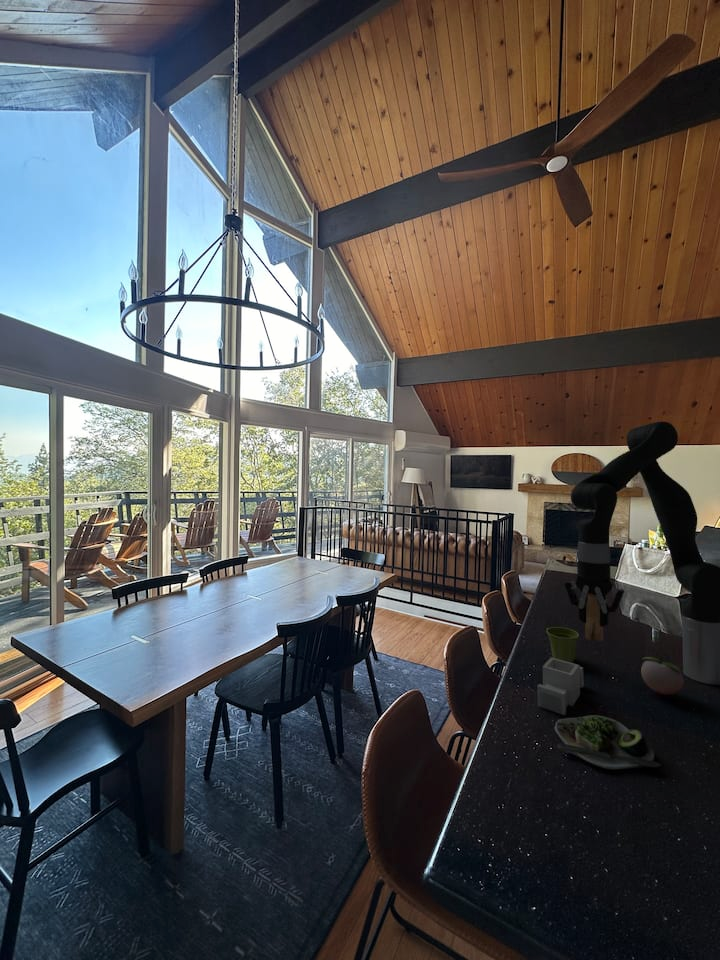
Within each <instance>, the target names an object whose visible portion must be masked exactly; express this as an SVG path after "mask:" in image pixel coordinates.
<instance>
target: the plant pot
mask: <svg viewBox="0 0 720 960" xmlns="http://www.w3.org/2000/svg"><path fill="white" fill-rule="evenodd" d="M545 632H546V634H547V635H548V638H549V643H550V649H551V656H552V658H555V659H559V660H563V661H566V662H570V663H573V662H574V661H575V655H576V653H575V652H576V646H577V645H576V644H577V641H578V638H579V637H580V634H579V633H578V632H577V631H576V630H574V629H571V628H569V627H568V628H567V627H563V626H562V627H561V626H560V627H559V626H554V627H553V626H552V627H547V628H546V631H545Z"/></svg>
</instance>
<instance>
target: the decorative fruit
mask: <svg viewBox="0 0 720 960" xmlns="http://www.w3.org/2000/svg"><path fill="white" fill-rule="evenodd" d="M641 659H642V660H645V661H644V662H643V663H642V664H641V665H642V666H641V668H640V669H641V670H640V672H641V673H640V674H641V678H642V680H643V681H644V683H645V684H646V686H647V687H648V688H650V689H651V690H653V691H655V692H656V693H658V694H660V695H661V696H663V695H667V696H669V695H674V694H677V693H678V692H680V690H682V688H683V686H684V684H685V683H684V682H685V680H684V676H683V674H684V673H683V670H681V669H680V668H679V667H678V666H676V664H674V663H671V662H668V661H667V662H666V661H663V657H662V656H661V657H660V659H658V658H656V657H652V656H645V657H643V658H641Z"/></svg>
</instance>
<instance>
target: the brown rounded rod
mask: <svg viewBox="0 0 720 960" xmlns="http://www.w3.org/2000/svg"><path fill="white" fill-rule="evenodd" d="M601 613H602V609H601V606H600V604H599V601H598V598H597V594H591V593H587V597H586V601H585V623H584V625H585V626H584V633H585V634H584V637H585V639H587V640H588V641H590V642H591V641H593V642H603V639H604V627H601Z"/></svg>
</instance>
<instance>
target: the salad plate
mask: <svg viewBox="0 0 720 960" xmlns="http://www.w3.org/2000/svg"><path fill="white" fill-rule="evenodd" d="M553 729H554V732H555V733H556V734H557V736H558V738H559V739H560V740H561V741H562V742H559V743H557V748H558V750H560V751H563V752H567V753H570V754H572V755H574V756H575V757H577V758H580V759H582V760H584V761H585V762H587V763H589V764H591V765H593V766H596V767H599V768H601V769H605V770H614V771H616V770H625V769H626V770H627V769H641V768H643V769H644V768H660V767H661V766H662V764H661V763H659V762H657V761H656V760H655V757H656V756H655V752H654V750H653V749H652V747H650V745H648V744H647V742H646V741H647V740H646V738H645V736H644V734H643V733H642V732H641V731H640V730H638V729H632V728H631V729H628V727H626V726H625V725H623V724H622V723H621V722H619V721H618V720H615V719H613V718H610V717H606V716H604V715H595V714H594V715H593V714H592V715H585V716H577V717H565V718H562V719H558V720H557V721H556V723H555V726H554V727H553ZM574 730H575V731H574ZM573 731H574V733H575V735H574V736H575V738H572V736H570V735H571V733H572V732H573ZM618 734H619V735H618Z"/></svg>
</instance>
